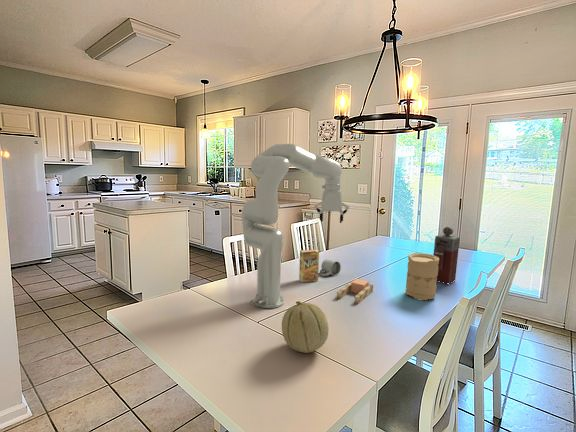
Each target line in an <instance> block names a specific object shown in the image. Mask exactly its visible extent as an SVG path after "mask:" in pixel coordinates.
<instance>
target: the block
mask: <svg viewBox="0 0 576 432" xmlns="http://www.w3.org/2000/svg"><path fill="white" fill-rule="evenodd" d="M350 282H351V291H350V293H354V294H358V293H360V292H361V291H362V290H363V289H364V288H366V287H367V286H368V285H369V282H370V281H368V280H363V279H360V278H355V279H354V281H353V280H352V281H350Z"/></svg>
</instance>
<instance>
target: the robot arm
mask: <svg viewBox="0 0 576 432" xmlns="http://www.w3.org/2000/svg"><path fill="white" fill-rule="evenodd" d="M290 166H291V167H294V168H296V169H298V170H301V171H302V172H307V173H311V174H312V176H313V177H314V178H317V179H324V180H325V181H324V185H321V189H324V190H323V191H322V195H321V201H320V202H318V203H316V204H314V207H315V210H316V211H317V212H318V213H319V221H320V223H322V222H323V221H324V212H339V213H340V215H339V223H340V224H342V222H344V215H345V214H346V213H347V212H348V211H349V209H350V206H349V205H348V204H346V203H345V202H343V195H342V191H341V178H342V177H341V175H342V174H343V173H342V172H343V170H342V168H343V167H342V165H341V164H340V163H339V162H338V161H336V160H334V159H332V158H329V157H326V156H322V155H319V154H315V153H312V152H310V151H308V150H306V149H304V148H303V147H300V146H298V144H297V145H296V144H293V143H276V144H274V145H271V146H270V147H268V148H266V149H265V150H264V151H262V152H261V153H259V154H258V155H256V156H255V157H254V158H253V160H252V161H251V164H250V169H251V172H252V174H254V175H255V176H256V177H258V178H259V179H258V181H257V183H256V186H255V198H253V199H249V200H247V201H246V202H245V203H244V204H243V206H242V210H241V221H242V233H243V239H244V242H245V244H246V245H247V246H249V247H250V248H251V247H252V248H255V249H258V250H261V252H260V254H259V256H258V258H257V263H256V264H257V265H256V266H257V267H256V271H257V273H256V276H257V277H256V282H257V283H256V294H255V297H253V298H252V299H250V303H249V304H250V305H252V306H253V305H255V306H256V307H258V308H261V309H275V308H276V309H277V308H279V307H281V306H283V305H284V304H285V303H284V301H285V300H284V298H283V297H282V296H281V275H282V274H281V261H282V252H283V251H282V250H283V248H284V242H285V239H284V238H285V237H284V234H283V233H282V232H281V230H279V229H277V228H276V227H275V228H274V227H271V226H272V225H275V224H276V223H277V222H278V220H279V201H278V197H279V195H278V190H279V185H280V183H281V182H282V180H283V179H284V177H285V176H286V175H287V174H288V172H289V169H290ZM320 206H321V207H320ZM319 207H320V208H321V209H320V208H319ZM343 207H344V208H345V210H343ZM263 225H264V226H263Z"/></svg>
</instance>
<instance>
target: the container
mask: <svg viewBox="0 0 576 432" xmlns="http://www.w3.org/2000/svg"><path fill="white" fill-rule="evenodd" d="M438 264H439V258H438V257H436V256H434V254H431V253H426V252H425V253H424V252H423V253H422V252H413V253H410V254H408V262H407V272H406V282H405V283H406V284H405V295H406V294H407V295H409V297H412V298H414V299H415V300H416V299H421V300H420V301H423V300H425V301H428V299H429V300H433V299H435V297H436V293H437V283H438V282H437V278H436V277H437V276H438ZM407 295H406V296H407Z"/></svg>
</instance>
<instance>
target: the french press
mask: <svg viewBox="0 0 576 432" xmlns="http://www.w3.org/2000/svg"><path fill="white" fill-rule="evenodd" d="M460 239H461V238H460V236H459V235H454V229H453V227H452V226H446V227H444V228H443V230H442V233H440V234H438V235H436V236H435V238H434V248H433V255H434V256H436V257H438V258H439V264H438V276H437V277H436V278H437V281H440V282H444V283H449V284H450V283H451V282H453V281H454V280H455V281H456V277H457V269H458V268H457V266H458V258H459V250H460V249H459V248H460ZM455 281H454V282H455ZM440 282H439V283H440ZM454 282H453V283H454ZM451 284H452V283H451ZM451 284H450V285H451Z"/></svg>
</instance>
